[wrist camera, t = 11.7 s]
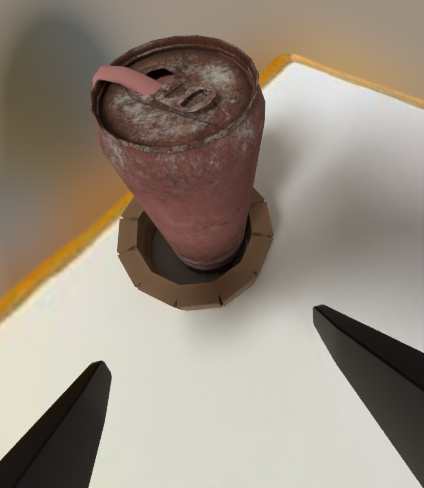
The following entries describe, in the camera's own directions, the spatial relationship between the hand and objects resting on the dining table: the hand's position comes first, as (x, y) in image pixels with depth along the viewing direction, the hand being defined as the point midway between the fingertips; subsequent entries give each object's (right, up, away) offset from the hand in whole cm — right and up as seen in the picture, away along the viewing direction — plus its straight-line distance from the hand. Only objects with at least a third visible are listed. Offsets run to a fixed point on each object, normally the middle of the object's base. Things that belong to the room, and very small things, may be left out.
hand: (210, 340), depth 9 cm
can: (0, +4, +11) cm, 12 cm away
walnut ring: (-1, +4, +11) cm, 12 cm away
